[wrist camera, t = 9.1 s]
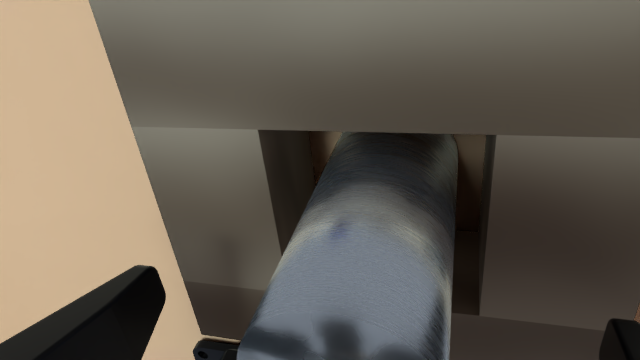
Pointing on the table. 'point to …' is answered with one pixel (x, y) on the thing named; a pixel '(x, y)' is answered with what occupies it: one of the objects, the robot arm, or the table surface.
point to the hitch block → (398, 117)
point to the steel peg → (367, 257)
